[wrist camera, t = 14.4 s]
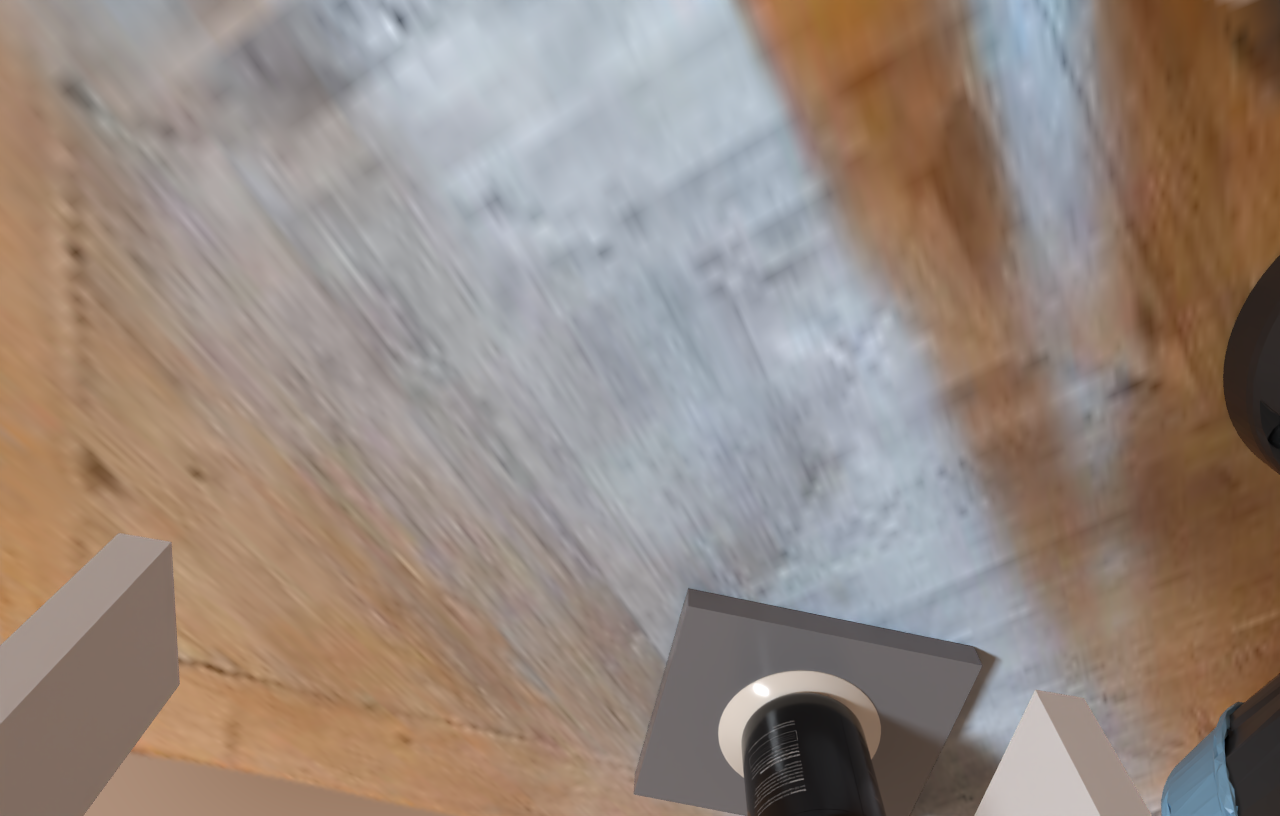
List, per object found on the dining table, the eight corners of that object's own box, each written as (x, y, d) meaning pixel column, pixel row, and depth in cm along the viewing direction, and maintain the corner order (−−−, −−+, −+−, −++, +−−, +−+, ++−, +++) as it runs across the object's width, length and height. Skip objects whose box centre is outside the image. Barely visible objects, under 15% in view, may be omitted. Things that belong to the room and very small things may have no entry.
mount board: (973, 646, 48) (982, 666, 46) (890, 823, 54) (896, 846, 52) (688, 588, 47) (688, 607, 46) (634, 773, 53) (633, 795, 52)
